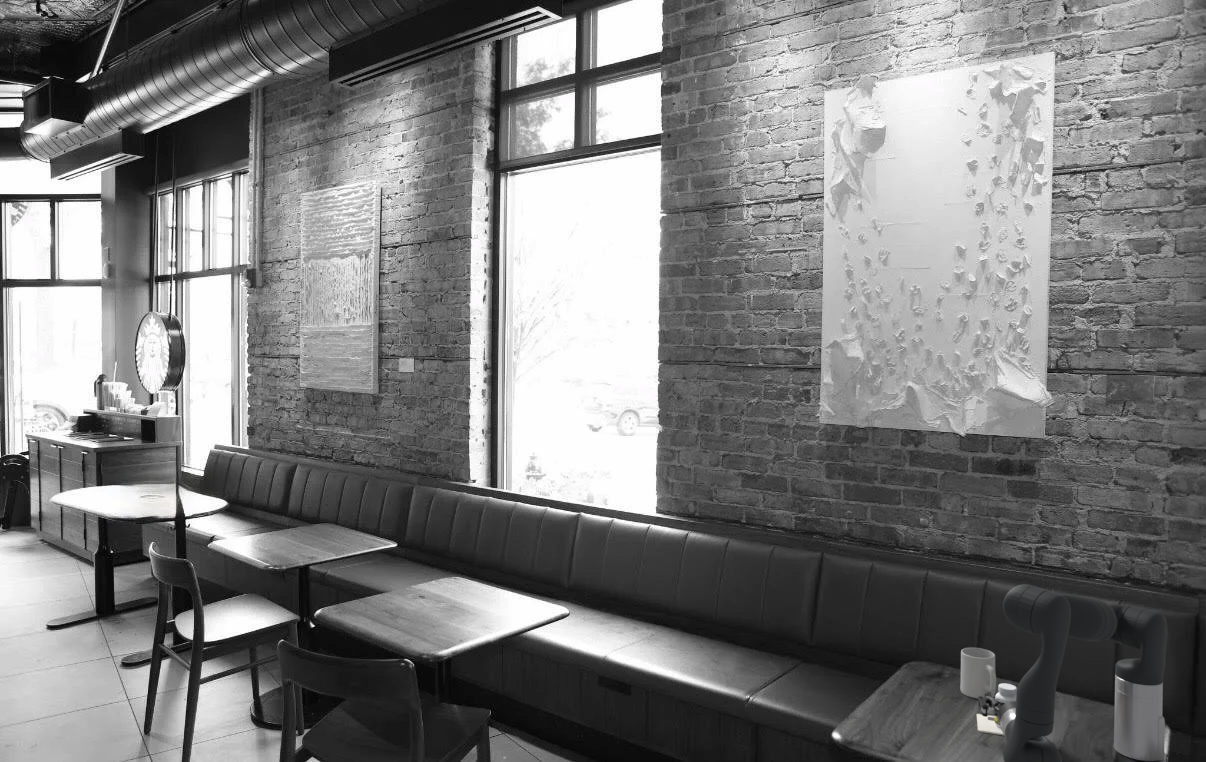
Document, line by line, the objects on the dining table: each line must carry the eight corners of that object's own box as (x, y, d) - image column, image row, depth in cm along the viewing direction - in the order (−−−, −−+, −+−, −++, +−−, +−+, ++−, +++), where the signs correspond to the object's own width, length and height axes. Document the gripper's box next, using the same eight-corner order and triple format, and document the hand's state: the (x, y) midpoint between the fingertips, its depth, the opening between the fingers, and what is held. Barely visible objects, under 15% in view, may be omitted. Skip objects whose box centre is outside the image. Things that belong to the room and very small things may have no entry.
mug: (954, 687, 231) (954, 648, 231) (983, 686, 232) (983, 646, 232) (978, 705, 220) (979, 663, 219) (1009, 703, 221) (1010, 662, 220)
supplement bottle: (994, 728, 205) (994, 688, 205) (995, 719, 210) (995, 680, 210) (1018, 732, 203) (1019, 692, 202) (1019, 723, 208) (1019, 684, 207)
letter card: (1034, 723, 209) (1034, 721, 209) (1038, 740, 199) (1038, 738, 199) (976, 715, 214) (976, 713, 214) (977, 731, 204) (977, 729, 204)
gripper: (1054, 712, 187) (1040, 685, 203) (984, 704, 192) (975, 678, 207) (1053, 746, 188) (1039, 716, 203) (984, 737, 192) (975, 709, 207)
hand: (1007, 697), depth 205 cm, fingers open, 8 cm apart
